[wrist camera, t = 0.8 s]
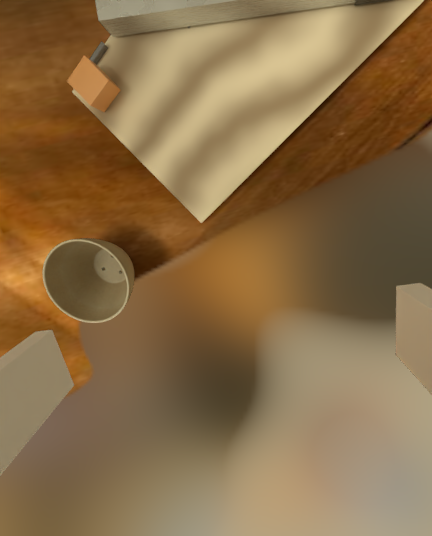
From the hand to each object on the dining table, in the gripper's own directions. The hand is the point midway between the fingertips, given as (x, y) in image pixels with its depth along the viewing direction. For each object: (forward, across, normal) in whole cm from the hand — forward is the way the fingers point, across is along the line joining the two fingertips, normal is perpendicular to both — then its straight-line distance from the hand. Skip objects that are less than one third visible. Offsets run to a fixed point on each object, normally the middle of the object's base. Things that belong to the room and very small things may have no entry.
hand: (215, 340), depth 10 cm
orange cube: (+24, -12, +18) cm, 32 cm away
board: (+25, +6, +20) cm, 33 cm away
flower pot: (+25, -17, -2) cm, 30 cm away
